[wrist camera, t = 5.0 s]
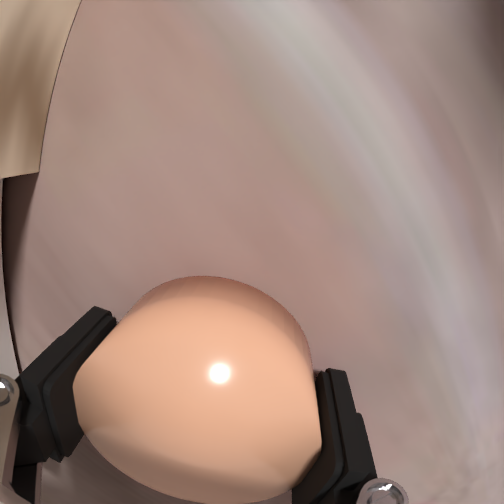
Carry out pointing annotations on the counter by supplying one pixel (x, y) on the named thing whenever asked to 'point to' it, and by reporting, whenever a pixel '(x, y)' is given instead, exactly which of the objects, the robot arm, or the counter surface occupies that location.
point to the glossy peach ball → (204, 394)
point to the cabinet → (28, 76)
